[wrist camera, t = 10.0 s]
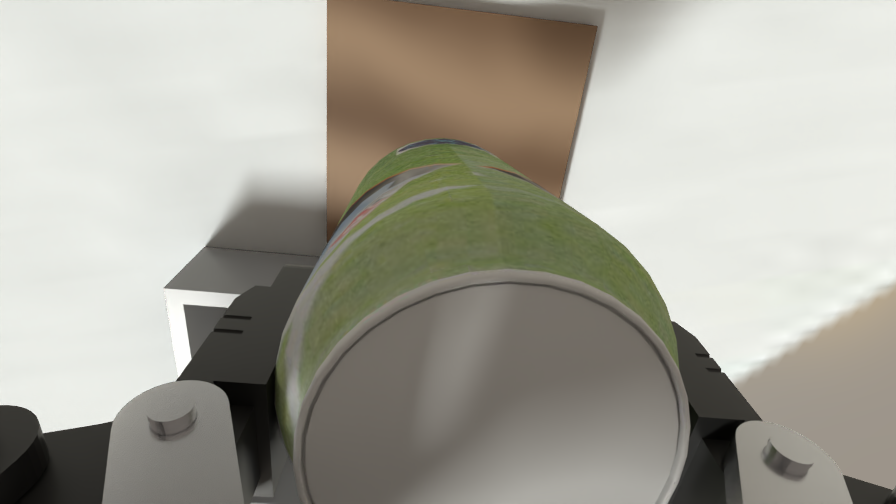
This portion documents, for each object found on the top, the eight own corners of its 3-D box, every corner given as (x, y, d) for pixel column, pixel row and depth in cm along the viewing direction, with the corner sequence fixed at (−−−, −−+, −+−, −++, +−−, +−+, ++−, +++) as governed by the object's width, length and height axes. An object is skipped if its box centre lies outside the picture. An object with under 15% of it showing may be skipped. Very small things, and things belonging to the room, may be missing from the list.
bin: (204, 246, 27) (163, 288, 23) (483, 271, 28) (492, 315, 24) (229, 449, 34) (200, 508, 30) (452, 463, 35) (454, 521, 31)
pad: (329, -7, 22) (327, -8, 21) (593, 25, 22) (597, 26, 22) (329, 238, 27) (326, 243, 26) (542, 257, 28) (545, 262, 27)
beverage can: (342, 275, 18) (201, 669, 7) (374, 69, 15) (206, 213, 4) (506, 306, 19) (601, 705, 8) (569, 114, 16) (869, 341, 5)
